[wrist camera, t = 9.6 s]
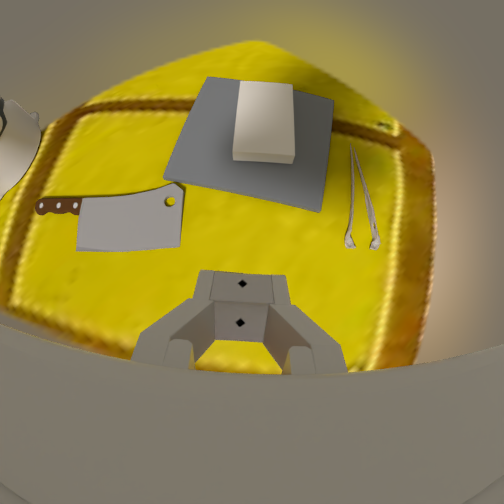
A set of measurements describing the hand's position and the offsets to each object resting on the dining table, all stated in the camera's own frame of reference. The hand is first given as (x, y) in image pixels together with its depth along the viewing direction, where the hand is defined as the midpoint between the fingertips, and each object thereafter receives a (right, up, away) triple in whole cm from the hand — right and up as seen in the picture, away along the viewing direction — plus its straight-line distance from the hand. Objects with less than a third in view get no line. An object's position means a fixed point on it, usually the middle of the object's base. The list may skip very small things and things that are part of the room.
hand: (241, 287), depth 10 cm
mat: (+1, +17, +23) cm, 29 cm away
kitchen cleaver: (-19, +5, +21) cm, 29 cm away
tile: (+2, +12, +20) cm, 24 cm away
